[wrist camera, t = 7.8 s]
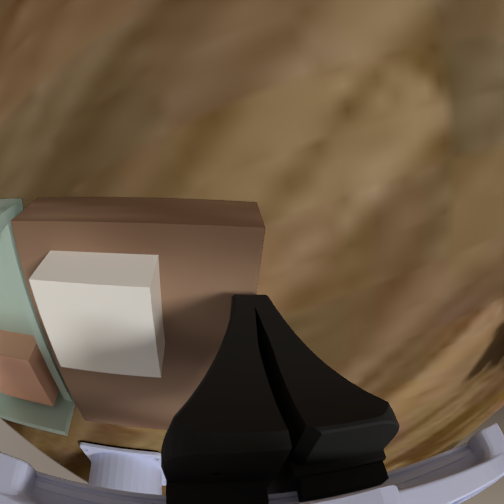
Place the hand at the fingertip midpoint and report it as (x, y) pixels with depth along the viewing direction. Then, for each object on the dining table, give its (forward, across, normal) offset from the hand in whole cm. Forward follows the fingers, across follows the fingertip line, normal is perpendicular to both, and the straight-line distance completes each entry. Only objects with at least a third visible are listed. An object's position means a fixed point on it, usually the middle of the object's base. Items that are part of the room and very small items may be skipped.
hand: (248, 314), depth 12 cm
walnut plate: (+3, +5, +4) cm, 7 cm away
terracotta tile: (+2, +14, +7) cm, 16 cm away
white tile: (0, +6, 0) cm, 6 cm away
